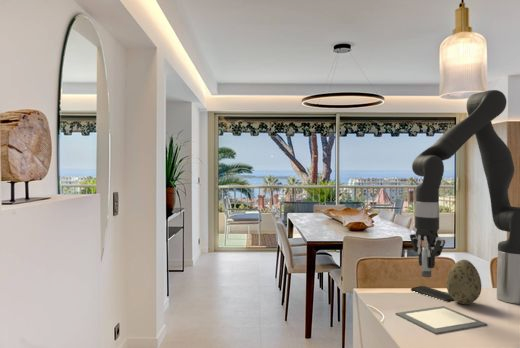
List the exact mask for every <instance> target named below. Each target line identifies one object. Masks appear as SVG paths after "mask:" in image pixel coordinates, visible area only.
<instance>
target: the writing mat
mask: <svg viewBox="0 0 520 348" xmlns="http://www.w3.org/2000/svg"><path fill="white" fill-rule="evenodd" d="M395 315H396V316H398V317H400V318H402V319H404V320H407V322H411V323H412V324H414V325H416V326H418V327H420V328H422V329H424V330H426V331H428V332H430V333H432V334H434V335H438V334H445V333H450V332H456V331H463V330H466V329H467V330H468V329H473V328H478V327H484V326H488V323H486V322H484V321H481V320H479V319H477V318H474V317H471V316H469V315H466V314H464V313H461V312H459V311H457V310H455V309H452V308H450V307H447V306H444V305H441V306H436V307H434V306H433V307H428V308H420V309H414V310H406V311H400V312H395Z"/></svg>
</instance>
